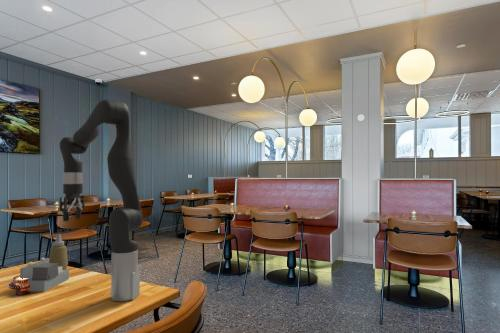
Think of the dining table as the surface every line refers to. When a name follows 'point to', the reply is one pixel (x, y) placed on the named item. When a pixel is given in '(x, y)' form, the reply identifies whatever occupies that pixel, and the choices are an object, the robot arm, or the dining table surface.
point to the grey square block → (45, 271)
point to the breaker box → (42, 284)
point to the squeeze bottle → (59, 253)
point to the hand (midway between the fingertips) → (72, 219)
